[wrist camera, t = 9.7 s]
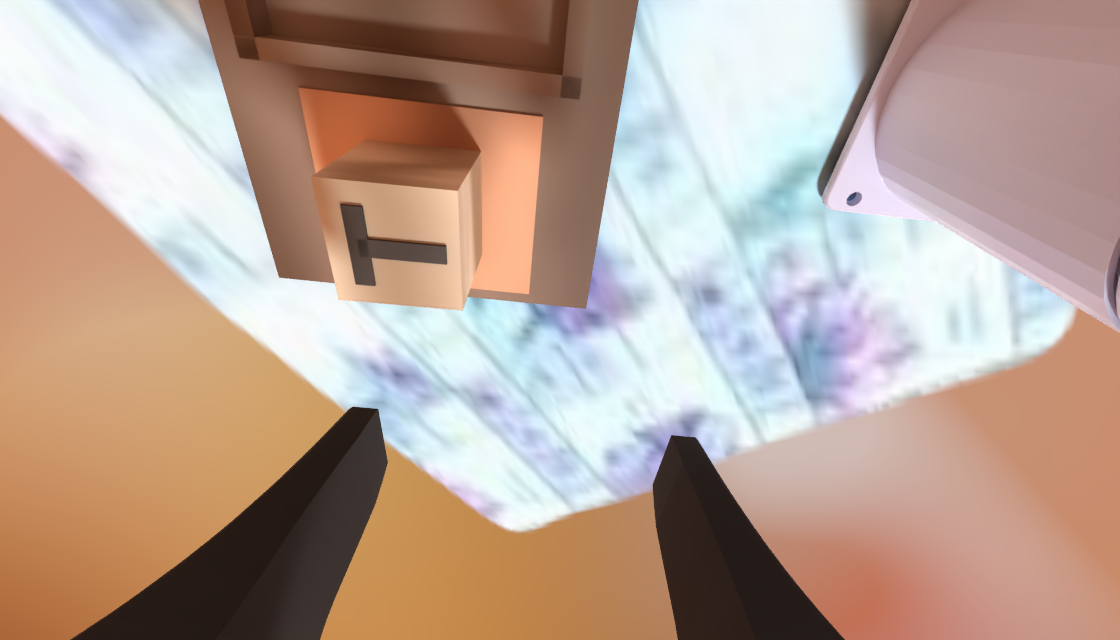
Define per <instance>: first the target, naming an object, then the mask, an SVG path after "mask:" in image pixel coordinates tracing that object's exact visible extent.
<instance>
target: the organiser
mask: <svg viewBox="0 0 1120 640" xmlns="http://www.w3.org/2000/svg"><path fill="white" fill-rule="evenodd" d="M199 4H200V7H201V11H202V14H203V17H204V21H205V24H206V28H207V31H208V35H209V38H210V42H211V45H212V48H213V52H214V55H215V59H216V62H217V66H218V69H219V72H220V76H221V79H222V83H223V86H224V90H225V93H226V96H227V100H228V103H229V107H230V110H231V114H232V117H233V121H234V124H235V127H236V131H237V134H238V138H239V141H240V145H241V148H242V151H243V155H244V158H245V162H246V165H247V169H248V172H249V176H250V179H251V182H252V186H253V189H254V193H255V196H256V200H257V203H258V206H259V210H260V213H261V217H262V220H263V224H264V227H265V230H266V234H267V237H268V241H269V244H270V248H271V251H272V255H273V258H274V261H275V265H276V268H277V272H278V275H279V277H280V278H290V279H299V280H309V281H319V282H329V283H335V281H334V277H333V273H332V268H331V264H330V260H329V255H328V251H327V246H326V242H325V238H324V233H323V229H322V225H321V220H320V216H319V212H318V207H317V203H316V198H315V194H314V190H313V185H312V181H311V176H312V175H314V174H315V173H317V172H318V171H320V170H321V169H323V168H324V167H326V166H327V165H329V164H330V163H332V162H333V161H335V160H336V159H338V158H339V157H340V156H342V155H343V154H345V153H346V152H348V151H349V150H351V149H352V148H354V147H355V146H357V145H358V144H360V143H361V142H363V141H364V140H373V141H383V142H393V143H403V144H413V145H423V146H433V147H443V148H453V149H463V150H473V151H481V167H482V256H481V259H480V262H479V265H478V268H477V271H476V274H475V276H474V279H473V282H472V285H471V288H470V291H469V294H468V296H467V297H476V298H486V299H496V300H506V301H516V302H526V303H535V304H545V305H555V306H565V307H575V308H585V309H586V305H587V299H588V293H589V287H590V281H591V275H592V270H593V264H594V258H595V252H596V246H597V240H598V234H599V229H600V223H601V217H602V211H603V205H604V199H605V193H606V188H607V182H608V176H609V170H610V164H611V158H612V152H613V147H614V141H615V135H616V129H617V123H618V117H619V111H620V105H621V100H622V94H623V88H624V82H625V76H626V70H627V64H628V59H629V53H630V47H631V41H632V35H633V29H634V23H635V18H636V12H637V6H638V0H199Z"/></svg>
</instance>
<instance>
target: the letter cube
mask: <svg viewBox="0 0 1120 640" xmlns="http://www.w3.org/2000/svg"><path fill="white" fill-rule="evenodd" d="M311 181H312V185H313V190H314V194H315V198H316V203H317V207H318V212H319V216H320V220H321V225H322V229H323V233H324V238H325V242H326V246H327V251H328V255H329V260H330V264H331V268H332V273H333V277H334V281H335V286H336V290H337V294H338V299H339V300H349V301H361V302H372V303H384V304H395V305H407V306H418V307H430V308H441V309H453V310H463V308H464V305H465V302H466V299H467V296H468V294H469V291H470V288H471V285H472V282H473V279H474V276H475V274H476V271H477V268H478V265H479V262H480V259H481V256H482V167H481V151H473V150H463V149H453V148H443V147H433V146H423V145H413V144H403V143H393V142H383V141H373V140H364V141H363V142H361V143H360V144H358V145H357V146H355V147H354V148H352V149H351V150H349V151H348V152H346V153H345V154H343V155H342V156H340V157H339V158H338V159H336V160H335V161H333V162H332V163H330V164H329V165H327V166H326V167H324V168H323V169H321V170H320V171H318V172H317V173H315V174H314V175H312V176H311Z"/></svg>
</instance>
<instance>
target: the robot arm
mask: <svg viewBox="0 0 1120 640" xmlns="http://www.w3.org/2000/svg"><path fill="white" fill-rule="evenodd" d="M854 192H857V193H856V196H855V198H854V199H853V200H851V201H850V202H846V201H847V198H848V197H849V195H850V194H852V193H854ZM822 200H823V203H824V204H825V205H826V206H827V207H828V208H829V209H832V210H837V211H845V212H854V213H863V214H871V215H880V216H889V217H898V218H906V219H915V220H924V221H933V222H938V223H939V224H941V225H943V226H944V227H946V228H948V229H949V230H951V231H952V232H954V233H956V234H957V235H959V236H961V237H962V238H964V239H966V240H967V241H969V242H971V243H972V244H974V245H976V246H977V247H979V248H980V249H982V250H984V251H985V252H987V253H989V254H990V255H992V256H994V257H995V258H997V259H999V260H1000V261H1002V262H1004V263H1005V264H1007V265H1008V266H1010V267H1012V268H1013V269H1015V270H1017V271H1018V272H1020V273H1022V274H1023V275H1025V276H1027V277H1028V278H1030V279H1032V280H1033V281H1035V282H1037V283H1038V284H1040V285H1041V286H1043V287H1045V288H1046V289H1048V290H1050V291H1051V292H1053V293H1055V294H1056V295H1058V296H1060V297H1061V298H1063V299H1065V300H1066V301H1068V302H1069V303H1071V304H1073V305H1074V306H1076V307H1078V308H1079V309H1081V310H1083V311H1084V312H1086V313H1088V314H1089V315H1091V316H1093V317H1095V318H1096V319H1098V320H1099V321H1101V322H1103V323H1104V324H1106V325H1107V326H1109V327H1111V328H1113V329H1114V330H1116V331H1117V332H1119V333H1120V0H911V2H910V4H909V6H908V8H907V11H906V13H905V15H904V17H903V19H902V22H901V24H900V26H899V28H898V30H897V33H896V35H895V37H894V39H893V41H892V43H891V46H890V48H889V50H888V52H887V54H886V57H885V59H884V61H883V63H882V65H881V68H880V70H879V72H878V74H877V76H876V79H875V81H874V83H873V85H872V87H871V89H870V92H869V94H868V96H867V98H866V100H865V103H864V105H863V107H862V109H861V111H860V114H859V116H858V118H857V120H856V122H855V124H854V127H853V129H852V131H851V133H850V135H849V138H848V140H847V142H846V144H845V146H844V149H843V151H842V153H841V155H840V157H839V159H838V162H837V164H836V166H835V168H834V170H833V173H832V175H831V177H830V179H829V181H828V184H827V186H826V188H825V190H824V192H823V196H822ZM387 463H388V462H387V456H386V450H385V445H384V439H383V433H382V428H381V422H380V417H379V411H378V409H372V408H361V407H352V408H350V409H349V410H348V411H347V412H346V413H345V414H344V415H343V416H342V417H341V418H340V419H339V420H338V421H337V422H336V423H335V424H334V426H332V427H331V429H330V430H328V432H327V433H326V434H325V435H324V436H323V437H322V438H321V439H320V440H319V441H318V442H317V443H316V444H315V445H314V446H313V447H312V448H311V449H310V450H309V451H308V452H307V453H306V454H305V455H304V456H303V457H302V458H301V459H300V460H299V461H297V462H296V463H295V464H294V465H293V466H292V467H291V468H290V469H289V470H288V471H287V472H286V473H285V474H284V475H283V476H282V477H281V478H280V479H279V480H278V481H277V482H275V483H274V484H273V485H272V486H271V487H270V488H269V489H268V490H267V491H266V492H264V493H263V494H262V495H261V496H260V497H259V498H258V499H257V500H255V501H254V502H253V503H252V504H251V505H250V506H249V507H248V508H246V509H245V510H244V511H243V512H242V513H241V514H240V515H239V516H238V517H236V518H235V519H234V520H233V521H232V522H230V523H229V524H228V525H227V526H226V527H224V528H223V529H222V530H221V531H220V532H218V533H217V534H216V535H215V536H214V537H212V538H211V539H210V540H209V541H207V542H206V543H205V544H204V545H203V546H201V547H200V548H198V550H196V551H195V552H193V553H192V554H191V555H190V556H188V557H187V558H186V559H184V560H183V561H182V562H181V563H179V564H178V565H177V566H175V567H174V568H173V569H171V570H170V571H168V572H167V573H166V574H164V575H163V576H162V577H160V578H159V579H158V580H156V581H155V582H154V583H152V584H151V585H149V586H148V587H147V588H145V589H144V590H143V591H141V592H140V593H139V594H137V595H136V596H134V597H133V598H132V599H130V600H129V601H127V602H126V603H124V604H123V605H122V606H120V607H119V608H117V609H116V610H114V611H113V612H112V613H110V614H109V615H107V616H106V617H104V618H103V619H101V620H99V621H98V622H97V623H95V624H93V625H92V626H90V627H89V628H87V629H86V630H85V631H83V632H81V633H80V634H78V635H77V636H75V637H74V638H72V639H71V640H320V638H321V634H322V632H323V629H324V625H325V623H326V619H327V617H328V614H329V612H330V609H331V607H332V604H333V602H334V599H335V597H336V594H337V592H338V590H339V587H340V585H341V583H342V581H343V578H344V576H345V574H346V571H347V569H348V567H349V564H350V562H351V560H352V557H353V555H354V553H355V550H356V548H357V546H358V543H359V541H360V539H361V537H362V534H363V532H364V529H365V527H366V525H367V522H368V520H369V518H370V515H371V513H372V510H373V508H374V506H375V503H376V500H377V497H378V494H379V490H380V487H381V484H382V481H383V477H384V474H385V470H386V467H387ZM653 495H654V509H655V519H656V528H657V533H658V539H659V544H660V549H661V554H662V559H663V564H664V569H665V574H666V579H667V584H668V589H669V594H670V599H671V604H672V609H673V614H674V619H675V624H676V631H677V637H678V640H845V639H844V638H843V637H842V636H841V635H840V634H839V633H838V632H837V630H836V629H835V628H834V627H833V626H832V625H831V624H830V623H829V621H828V620H827V619H826V618H825V617H824V616H823V615H822V614H821V612H820V611H819V610H818V609H817V608H816V607H815V605H814V604H813V603H812V602H811V601H810V599H809V598H808V597H807V596H806V595H805V593H804V592H803V591H802V590H801V589H800V587H799V586H798V585H797V584H796V582H795V581H794V580H793V579H792V577H791V576H790V575H789V574H788V572H787V571H786V570H785V569H784V567H783V566H782V565H781V563H780V562H779V561H778V559H777V558H776V557H775V555H774V554H773V553H772V551H771V550H770V549H769V547H768V546H767V545H766V543H765V542H764V541H763V539H762V538H761V536H760V535H759V533H758V532H757V531H756V529H755V528H754V527H753V525H752V524H751V522H750V521H749V519H748V518H747V516H746V515H745V513H744V512H743V510H742V509H741V508H740V506H739V505H738V503H737V502H736V500H735V499H734V497H733V495H732V494H731V493H730V491H729V489H728V488H727V486H726V485H725V483H724V482H723V480H722V478H721V477H720V475H719V474H718V472H717V471H716V469H715V467H714V466H713V464H712V462H711V461H710V459H709V458H708V456H707V454H706V453H705V451H704V449H703V448H702V446H701V444H700V443H699V441H698V440H697V439H696V437H684V436H673V435H671V438H670V441H669V443H668V446H667V448H666V451H665V454H664V456H663V459H662V462H661V464H660V467H659V470H658V472H657V475H656V478H655V480H654V483H653Z"/></svg>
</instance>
